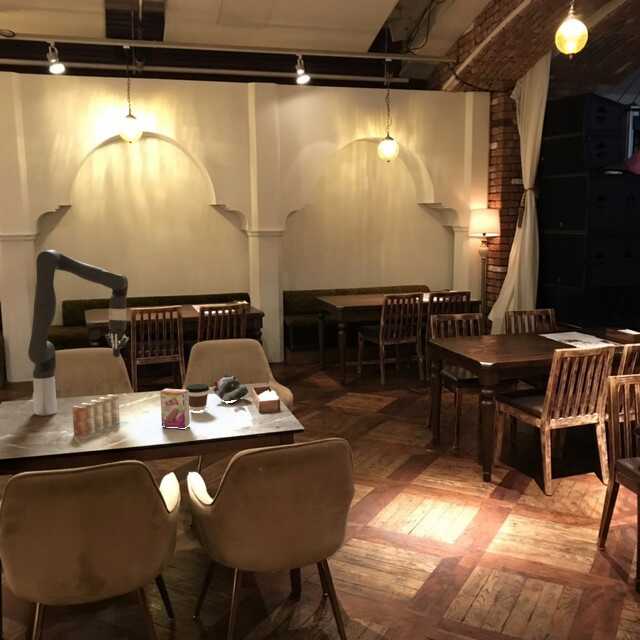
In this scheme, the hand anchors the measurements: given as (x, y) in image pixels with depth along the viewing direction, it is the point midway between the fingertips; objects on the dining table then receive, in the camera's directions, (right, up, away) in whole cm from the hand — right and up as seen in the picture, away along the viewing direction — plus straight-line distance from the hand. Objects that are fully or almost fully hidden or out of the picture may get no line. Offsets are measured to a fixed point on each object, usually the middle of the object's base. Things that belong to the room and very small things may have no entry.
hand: (116, 356), depth 319 cm
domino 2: (-5, -30, -24) cm, 39 cm away
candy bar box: (+30, -30, -17) cm, 46 cm away
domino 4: (0, -29, -15) cm, 32 cm away
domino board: (-2, -30, -19) cm, 36 cm away
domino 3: (-2, -29, -20) cm, 35 cm away
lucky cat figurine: (+49, -23, +25) cm, 59 cm away
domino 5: (+2, -28, -11) cm, 30 cm away
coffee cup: (+36, -26, +7) cm, 45 cm away
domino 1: (-7, -31, -28) cm, 42 cm away
